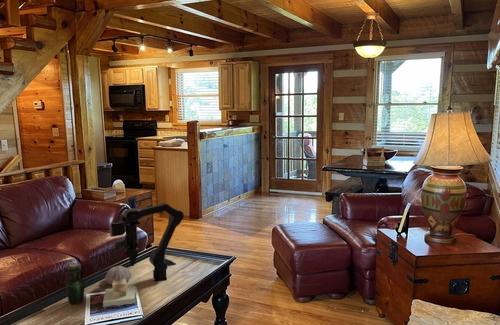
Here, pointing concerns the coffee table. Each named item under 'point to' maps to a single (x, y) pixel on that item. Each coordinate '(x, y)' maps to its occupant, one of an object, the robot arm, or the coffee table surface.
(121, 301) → the sage base block
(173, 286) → the coffee table surface
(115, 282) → the birch cube
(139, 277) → the coffee table surface
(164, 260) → the decorative butterfly
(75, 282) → the potion bottle
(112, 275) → the sea urchin shell
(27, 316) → the coffee table surface
